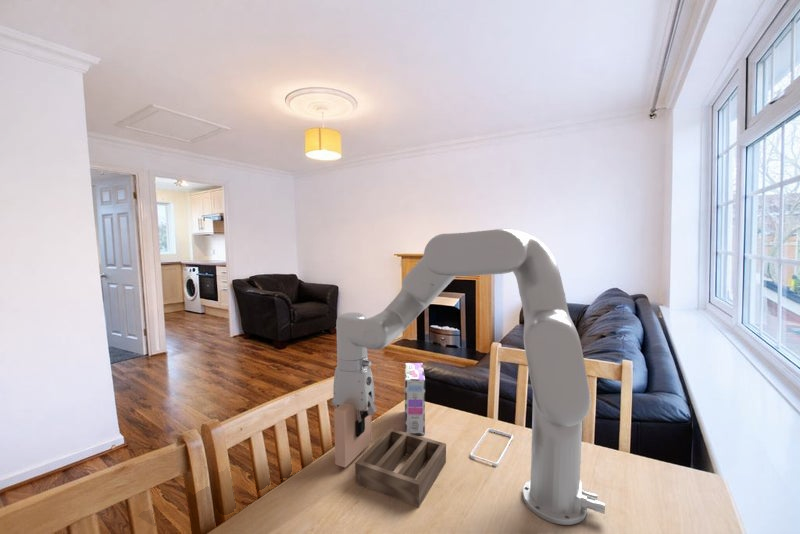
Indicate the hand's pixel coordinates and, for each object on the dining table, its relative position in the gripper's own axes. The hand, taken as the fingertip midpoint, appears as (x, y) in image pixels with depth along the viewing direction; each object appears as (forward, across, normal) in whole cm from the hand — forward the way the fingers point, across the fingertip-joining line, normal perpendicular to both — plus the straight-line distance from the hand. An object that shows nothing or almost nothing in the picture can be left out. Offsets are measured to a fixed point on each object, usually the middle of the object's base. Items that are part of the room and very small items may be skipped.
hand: (354, 431), depth 91 cm
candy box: (+7, -7, -22) cm, 24 cm away
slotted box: (+7, -14, 0) cm, 15 cm away
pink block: (+6, 0, 0) cm, 6 cm away
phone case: (+8, -31, -20) cm, 37 cm away
